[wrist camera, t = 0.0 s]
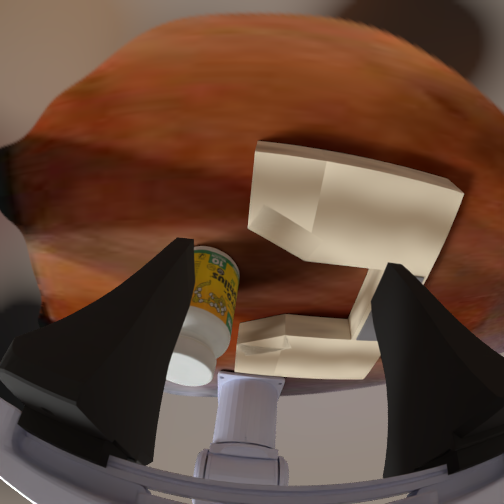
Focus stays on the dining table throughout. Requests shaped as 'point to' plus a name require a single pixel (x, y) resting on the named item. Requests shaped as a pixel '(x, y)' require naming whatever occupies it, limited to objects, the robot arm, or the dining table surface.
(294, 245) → the jig block
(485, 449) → the robot arm
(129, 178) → the dining table surface
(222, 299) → the supplement bottle
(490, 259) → the dining table surface
